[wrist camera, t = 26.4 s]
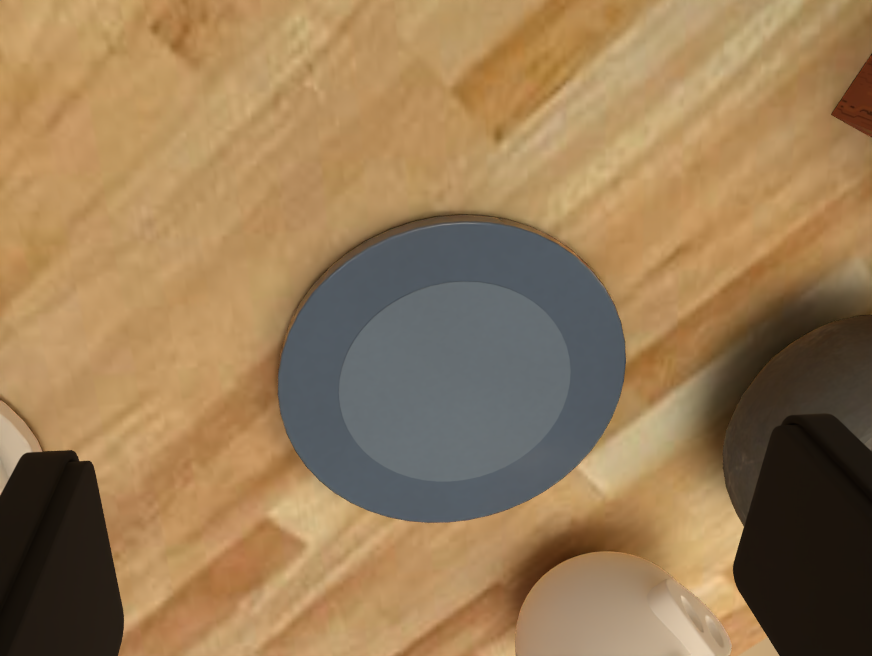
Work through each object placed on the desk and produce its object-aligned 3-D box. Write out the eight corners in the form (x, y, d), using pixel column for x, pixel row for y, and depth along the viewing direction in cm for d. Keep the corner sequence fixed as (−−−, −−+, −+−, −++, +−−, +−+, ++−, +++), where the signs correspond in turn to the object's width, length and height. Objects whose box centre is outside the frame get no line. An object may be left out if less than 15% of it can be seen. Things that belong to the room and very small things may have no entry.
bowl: (814, 525, 50) (920, 655, 41) (636, 443, 45) (715, 572, 36) (989, 343, 45) (1152, 447, 36) (812, 227, 40) (953, 316, 31)
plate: (286, 521, 44) (286, 534, 43) (267, 215, 36) (266, 223, 35) (595, 501, 47) (601, 513, 46) (645, 212, 38) (653, 219, 37)
